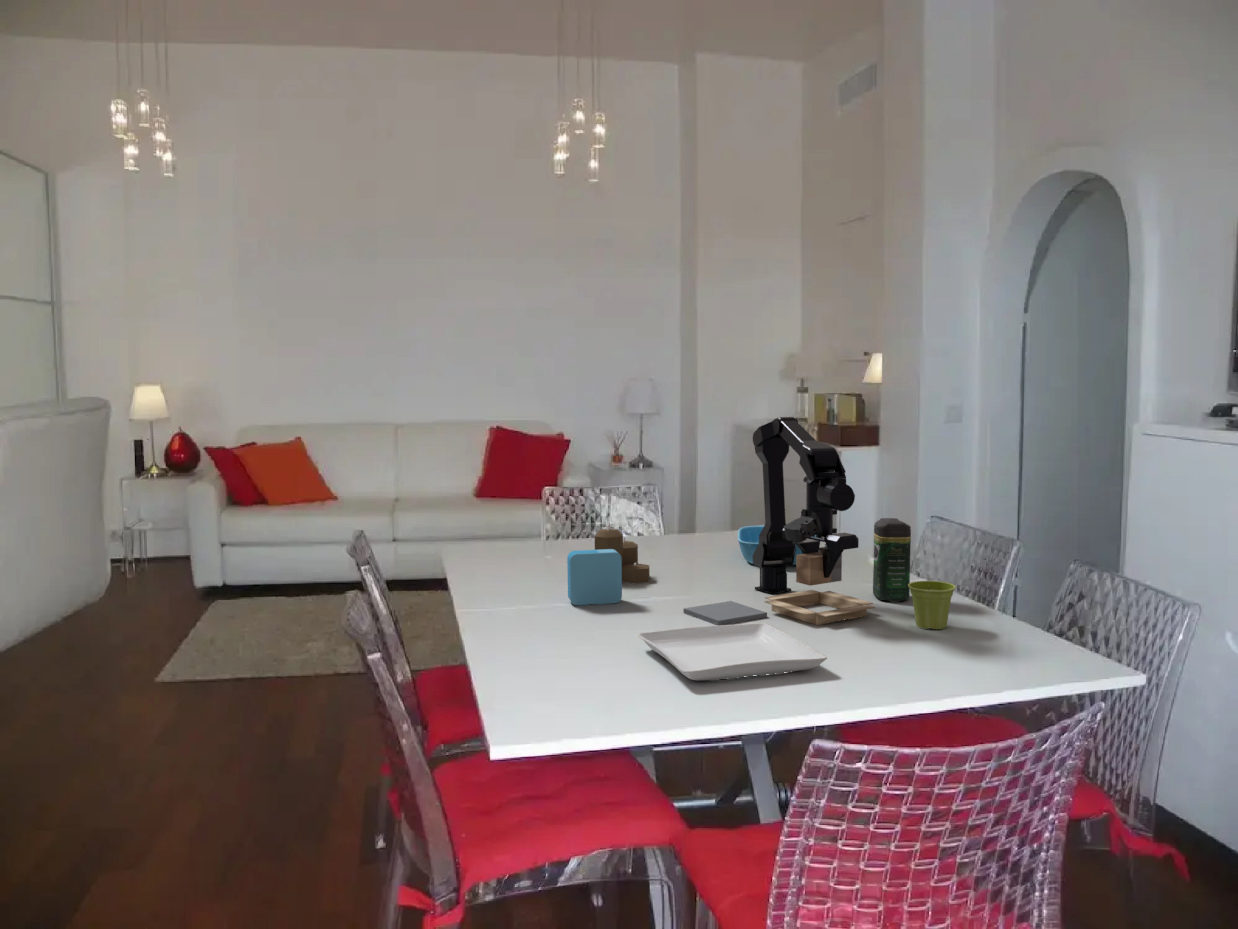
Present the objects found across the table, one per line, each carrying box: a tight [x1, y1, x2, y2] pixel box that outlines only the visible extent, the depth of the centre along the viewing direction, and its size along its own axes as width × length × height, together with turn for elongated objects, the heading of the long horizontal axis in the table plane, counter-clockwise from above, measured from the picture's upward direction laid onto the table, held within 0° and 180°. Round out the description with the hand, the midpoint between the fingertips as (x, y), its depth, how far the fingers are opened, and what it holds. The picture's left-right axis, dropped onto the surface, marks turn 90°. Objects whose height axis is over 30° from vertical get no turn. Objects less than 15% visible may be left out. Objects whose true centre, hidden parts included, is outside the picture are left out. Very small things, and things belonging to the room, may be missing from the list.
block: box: [795, 551, 843, 587], centre depth 223 cm, size 4×9×6 cm, turn 121°
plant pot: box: [908, 580, 957, 631], centre depth 212 cm, size 9×9×9 cm
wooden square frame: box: [763, 589, 876, 626], centre depth 224 cm, size 20×19×2 cm
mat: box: [683, 600, 768, 626], centre depth 224 cm, size 13×13×1 cm
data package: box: [566, 549, 623, 606], centre depth 236 cm, size 12×4×12 cm, turn 101°
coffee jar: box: [872, 517, 912, 603], centre depth 237 cm, size 10×8×19 cm
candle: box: [594, 521, 650, 584], centre depth 261 cm, size 14×14×15 cm
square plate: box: [637, 622, 828, 681], centre depth 189 cm, size 27×27×4 cm
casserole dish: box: [737, 524, 802, 565], centre depth 289 cm, size 37×22×7 cm, turn 173°
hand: (819, 575), depth 223 cm, fingers closed on block, 4 cm apart
